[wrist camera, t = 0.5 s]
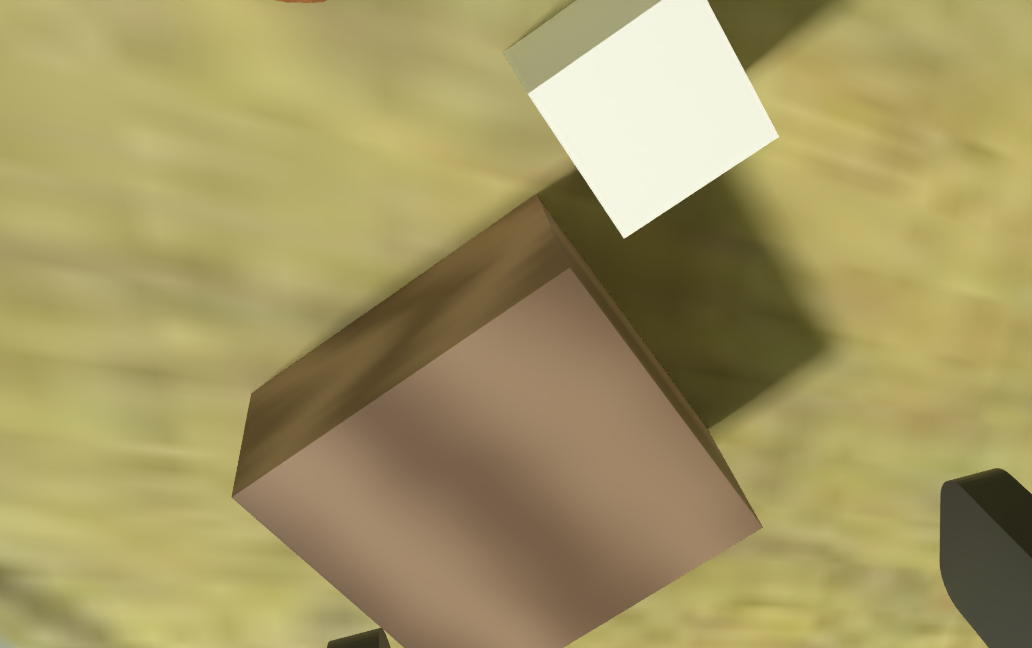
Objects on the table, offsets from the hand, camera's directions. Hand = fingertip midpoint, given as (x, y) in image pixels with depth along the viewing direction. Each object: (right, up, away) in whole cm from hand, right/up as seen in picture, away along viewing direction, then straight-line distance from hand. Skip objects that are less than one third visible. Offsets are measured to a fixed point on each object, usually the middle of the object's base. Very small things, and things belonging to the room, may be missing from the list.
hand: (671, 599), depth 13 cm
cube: (+1, +12, +16) cm, 20 cm away
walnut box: (-3, +1, +22) cm, 22 cm away
